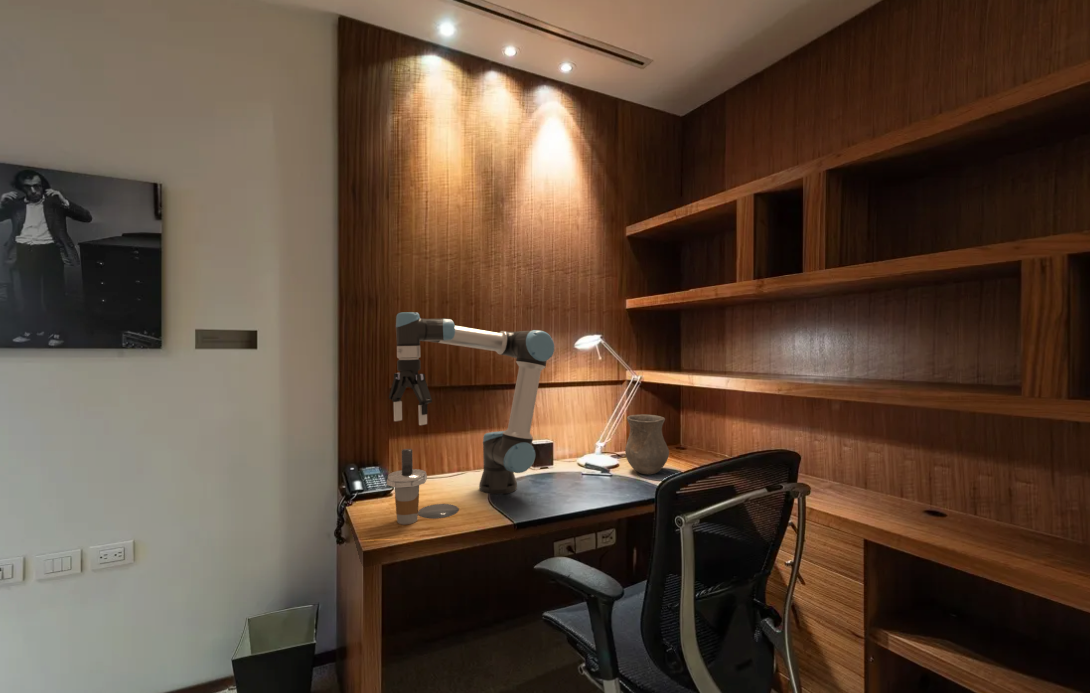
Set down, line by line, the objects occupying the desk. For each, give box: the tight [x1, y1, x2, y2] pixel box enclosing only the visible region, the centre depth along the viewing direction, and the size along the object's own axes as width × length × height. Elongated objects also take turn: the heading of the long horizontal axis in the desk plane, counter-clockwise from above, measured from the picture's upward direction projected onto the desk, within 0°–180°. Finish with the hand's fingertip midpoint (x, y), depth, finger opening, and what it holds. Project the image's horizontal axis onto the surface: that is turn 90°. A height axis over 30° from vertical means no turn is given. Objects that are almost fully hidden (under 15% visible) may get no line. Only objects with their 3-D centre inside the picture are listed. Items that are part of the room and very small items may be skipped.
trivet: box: [418, 503, 460, 520], centre depth 161 cm, size 14×14×1 cm
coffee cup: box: [394, 485, 420, 525], centre depth 153 cm, size 8×8×15 cm
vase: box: [624, 414, 670, 475], centre depth 208 cm, size 20×19×25 cm
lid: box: [386, 448, 428, 489], centre depth 152 cm, size 12×12×10 cm
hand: (410, 422), depth 154 cm, fingers open, 13 cm apart
